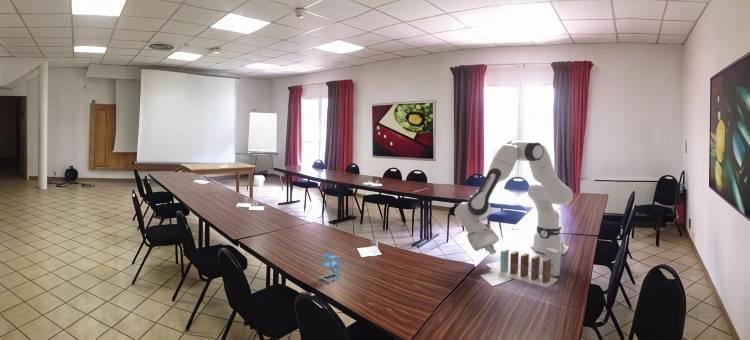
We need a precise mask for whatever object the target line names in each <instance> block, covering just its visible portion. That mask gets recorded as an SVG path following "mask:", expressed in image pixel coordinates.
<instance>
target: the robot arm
mask: <svg viewBox="0 0 750 340" xmlns="http://www.w3.org/2000/svg"><path fill="white" fill-rule="evenodd" d="M517 161H521V162H522V161H524V162H528V164H529V168H530V171H531V174H532V176H533V179H534V180H535V181H536V182H533V183H531V184H529V186H528V188H527V195H528V197H529V198H530V199H531V200H532V202H533V203H534V205H535V207H536V211H537V226H536V233H535V234H534V237H533V245H531V246H530V248H531V249H532V250H534V251H535V252H537V253H540V254H544V255H545V249H547V248H553V249H556V250H558V251H561V255H563V254H564V255H566V254H567V252H568V250H569V246H568V245H565V238H564V237H563V235H561V230H562V226H560V214H559V212H558V211H557V210H556V209H555V208H554V207H553V205H568V204H570V203H571V202H572V200H573V197H574V193H573V190H572V189H571V188H570V187H569V186H567V185H566V184H565V183H564V182H563V181H562V180H561V179H560V178H559V176H558V175H557V173H556V172H555V169H554V166H553V162H552V159H551V157H550V154H549V152H548V150H547V149H546V147H545V146H544V145H543V144H541V143H540V142H539V141H535V140H528V139H522V140H520V139H519V140H517V139H513V140H510V141H508V142H506V143H505V144H503V145H502V146H501V147H500V148H499V149H498V150H497V152H496V154H495V155H494V156H493V159H492V161H491V163H490V166H489V169H488V171H487V174H486V176H485V178H484V179H483V181H482V183H481V185H480V187H479V189H478V190H477V191H476V193H474V194H473V195H472V196H471V197H469V199H468V201H467V202H466V201H465V202H464V201H463V202H460V203H459V204H457V206H456V207H455V208H454V215H455V217H456V218H457V220H458V222H459V223H460V224H461V226H463V228H464V229H465V231H466V232H467V235H466V237H467V239H468V242H469V244H470V245H471V246H470V247H471V248H472V249H473V250H474V251H476V252H477V251H480V250H482V249H485V250H486V251H487V252H488V253H489V254H490V255H494V254H496V253H497V250H496V249H495V247H494V245H495V244H497V243H498V242H499V241H500V238H499V236H498V234H496V232H495V231H494V229H492V228H491V224H488V223H484V222H482V221H481V220H482V219H484V218H486V217H488V216H489V215H490V214H491V213H492V207H491V204H490V203H489V202H490V197H491V196H492V193H493V192H494V189H495V188H496V186H497V185H498V183H500V182H502V181H505V180H507V179H508V177H509V176H510V175H511V173H512V172H513V170H514V168H515V166H516V163H517ZM565 253H566V254H565Z"/></svg>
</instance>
